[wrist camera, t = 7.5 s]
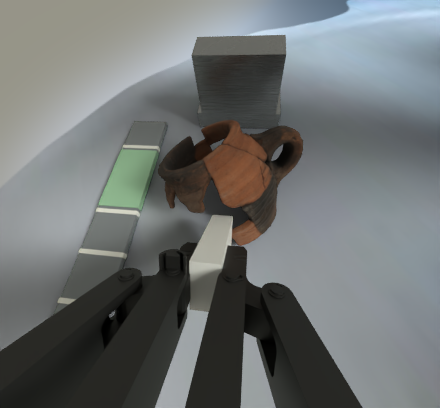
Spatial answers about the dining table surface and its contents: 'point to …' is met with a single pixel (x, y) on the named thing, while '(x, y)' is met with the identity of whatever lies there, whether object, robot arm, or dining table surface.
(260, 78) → the striated grey slab
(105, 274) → the gauge strip
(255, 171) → the pottery mug
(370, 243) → the dining table surface
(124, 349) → the robot arm
